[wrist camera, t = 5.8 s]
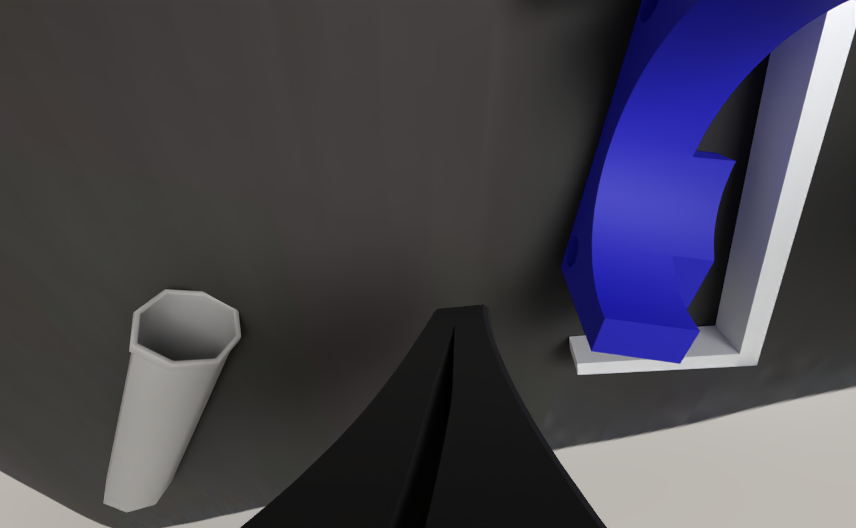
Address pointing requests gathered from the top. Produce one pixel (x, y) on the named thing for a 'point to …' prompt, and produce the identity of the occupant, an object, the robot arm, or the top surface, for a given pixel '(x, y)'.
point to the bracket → (763, 199)
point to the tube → (166, 390)
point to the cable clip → (665, 170)
